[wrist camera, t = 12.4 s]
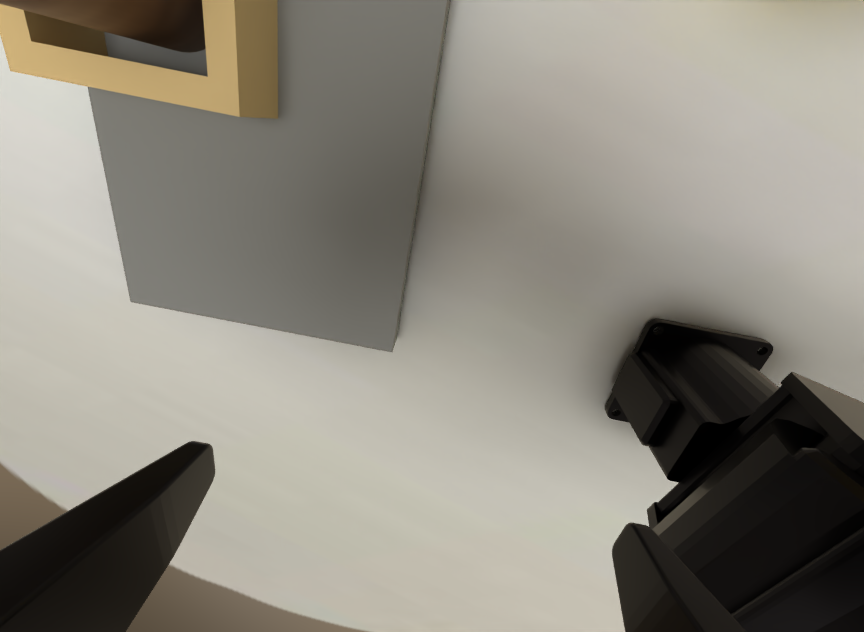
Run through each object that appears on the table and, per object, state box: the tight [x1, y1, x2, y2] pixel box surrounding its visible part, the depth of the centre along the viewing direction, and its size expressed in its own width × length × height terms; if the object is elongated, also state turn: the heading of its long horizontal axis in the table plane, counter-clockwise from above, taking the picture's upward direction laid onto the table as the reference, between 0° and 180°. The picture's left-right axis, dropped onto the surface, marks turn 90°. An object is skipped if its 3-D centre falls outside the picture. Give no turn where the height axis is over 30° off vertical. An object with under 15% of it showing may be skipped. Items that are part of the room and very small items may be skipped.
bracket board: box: [0, 0, 450, 352], centre depth 15 cm, size 14×20×4 cm
